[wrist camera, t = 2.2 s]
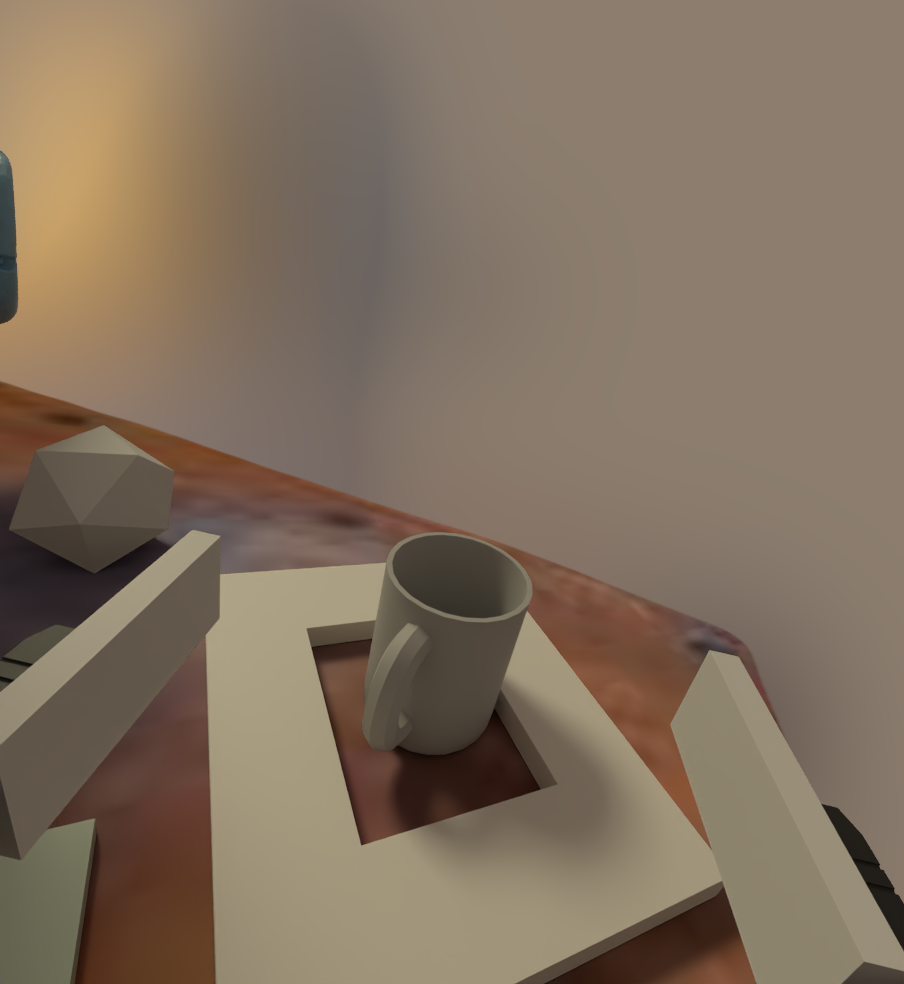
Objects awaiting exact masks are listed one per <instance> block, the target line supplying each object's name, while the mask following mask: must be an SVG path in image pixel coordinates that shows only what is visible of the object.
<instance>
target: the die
mask: <svg viewBox="0 0 904 984" xmlns="http://www.w3.org/2000/svg"><path fill="white" fill-rule="evenodd" d="M173 479H174V471H173V470H171V469H170V468H168V467H167V466H165V465H164V464H162V463H161V462H159V461H158V460H156V459H155V458H153V457H152V456H150V455H148V454H147V453H145V452H144V451H142V450H141V449H139V448H138V447H136V446H135V445H133V444H132V443H130V442H129V441H127V440H126V439H124V438H122V437H121V436H119V435H118V434H116V433H115V432H113V431H112V430H110V429H109V428H107V427H106V426H104V425H103V426H101V427H98V428H95V429H92V430H90V431H87V432H84V433H82V434H79V435H76V436H74V437H71V438H68V439H65V440H63V441H60V442H57V443H55V444H52V445H49V446H46V447H44V448H41V449H38V450H36V451H35V454H34V456H33V459H32V462H31V465H30V468H29V471H28V474H27V477H26V480H25V483H24V486H23V489H22V492H21V495H20V498H19V501H18V504H17V506H16V509H15V512H14V515H13V518H12V521H11V524H10V527H9V530H10V531H12V532H14V533H16V534H18V535H20V536H22V537H24V538H26V539H28V540H30V541H32V542H34V543H35V544H37V545H39V546H41V547H43V548H45V549H47V550H49V551H51V552H53V553H55V554H57V555H59V556H61V557H63V558H65V559H67V560H69V561H71V562H73V563H74V564H76V565H78V566H80V567H82V568H84V569H86V570H88V571H90V572H92V573H94V574H95V573H96V572H98V571H100V570H101V569H103V568H105V567H106V566H108V565H110V564H111V563H113V562H115V561H116V560H118V559H119V558H121V557H123V556H124V555H126V554H128V553H129V552H131V551H133V550H134V549H136V548H138V547H139V546H141V545H143V544H144V543H146V542H147V541H149V540H151V539H152V538H154V537H156V536H157V535H159V534H161V533H162V532H164V531H166V530H167V529H168V524H169V515H170V506H171V497H172V488H173Z"/></svg>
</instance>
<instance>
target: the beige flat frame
mask: <svg viewBox="0 0 904 984" xmlns="http://www.w3.org/2000/svg"><path fill="white" fill-rule="evenodd" d="M385 567H386V563H377V564H363V565H349V566H335V567H320V568H306V569H292V570H278V571H263V572H249V573H235V574H221V575H220V618H219V620H218V621H217V622H216V623H215V625H214V626H213V627H212V628H211V629H210V631H209V632H208V633H207V634H206V636H205V641H206V677H207V712H208V747H209V782H210V818H211V853H212V888H213V924H214V959H215V984H544V983H546V982H548V981H550V980H552V979H554V978H556V977H558V976H560V975H562V974H564V973H566V972H568V971H570V970H572V969H574V968H576V967H578V966H580V965H582V964H584V963H586V962H587V961H589V960H591V959H593V958H595V957H597V956H599V955H601V954H603V953H605V952H607V951H609V950H611V949H613V948H615V947H617V946H619V945H621V944H623V943H625V942H627V941H629V940H630V939H632V938H634V937H636V936H638V935H640V934H642V933H644V932H646V931H648V930H650V929H652V928H654V927H656V926H658V925H660V924H662V923H664V922H666V921H668V920H670V919H672V918H673V917H675V916H677V915H679V914H681V913H683V912H685V911H687V910H689V909H691V908H693V907H695V906H697V905H699V904H701V903H703V902H705V901H707V900H709V899H711V898H713V897H715V896H716V895H717V894H718V893H719V892H720V890H721V889H722V888H723V886H724V884H723V881H722V878H721V875H720V872H719V869H718V866H717V863H716V860H715V857H714V854H713V852H712V851H711V849H710V848H709V847H708V845H707V844H706V843H705V841H704V840H703V839H702V838H701V836H700V835H699V834H698V832H697V831H696V830H695V828H694V827H693V826H692V825H691V823H690V822H689V821H688V819H687V818H686V817H685V815H684V814H683V813H682V812H681V810H680V809H679V808H678V806H677V805H676V804H675V803H674V801H673V800H672V799H671V797H670V796H669V795H668V793H667V792H666V791H665V790H664V788H663V787H662V786H661V784H660V783H659V782H658V780H657V779H656V778H655V777H654V775H653V774H652V773H651V771H650V770H649V769H648V767H647V766H646V765H645V764H644V762H643V761H642V760H641V758H640V757H639V756H638V754H637V753H636V752H635V751H634V749H633V748H632V747H631V745H630V744H629V743H628V741H627V740H626V739H625V738H624V736H623V735H622V734H621V732H620V731H619V730H618V729H617V727H616V726H615V725H614V723H613V722H612V721H611V719H610V718H609V717H608V716H607V714H606V713H605V712H604V710H603V709H602V708H601V706H600V705H599V704H598V703H597V701H596V700H595V699H594V697H593V696H592V695H591V693H590V692H589V691H588V690H587V688H586V687H585V686H584V684H583V683H582V682H581V680H580V679H579V678H578V677H577V675H576V674H575V673H574V671H573V670H572V669H571V667H570V666H569V665H568V664H567V662H566V661H565V660H564V658H563V657H562V656H561V655H560V653H559V652H558V651H557V649H556V648H555V647H554V645H553V644H552V643H551V642H550V640H549V639H548V638H547V636H546V635H545V634H544V632H543V631H542V630H541V629H540V627H539V626H538V625H537V623H536V622H535V621H534V619H533V618H532V617H531V616H530V614H529V613H528V612H526V615H525V618H524V621H523V624H522V627H521V630H520V633H519V636H518V639H517V642H516V644H515V647H514V650H513V653H512V656H511V659H510V662H509V665H508V668H507V671H506V674H505V677H504V680H503V683H502V686H501V689H500V692H499V695H498V698H497V701H496V704H495V707H494V708H495V710H496V712H497V714H498V715H499V717H500V719H501V721H502V722H503V724H504V726H505V728H506V729H507V731H508V733H509V735H510V736H511V738H512V740H513V742H514V744H515V745H516V747H517V749H518V751H519V752H520V754H521V756H522V758H523V759H524V761H525V763H526V765H527V766H528V768H529V770H530V772H531V773H532V775H533V777H534V779H535V780H536V782H537V784H538V786H539V787H540V789H541V790H538V791H535V792H532V793H529V794H525V795H522V796H519V797H516V798H513V799H509V800H506V801H503V802H500V803H497V804H493V805H490V806H487V807H484V808H481V809H477V810H474V811H471V812H468V813H465V814H461V815H458V816H455V817H452V818H449V819H445V820H442V821H439V822H436V823H433V824H429V825H426V826H423V827H420V828H416V829H413V830H410V831H407V832H404V833H400V834H397V835H394V836H391V837H388V838H384V839H381V840H378V841H375V842H372V843H368V844H365V845H362V846H361V843H360V839H359V835H358V831H357V827H356V823H355V819H354V815H353V811H352V807H351V803H350V799H349V795H348V791H347V787H346V784H345V780H344V776H343V772H342V768H341V764H340V760H339V756H338V752H337V748H336V744H335V740H334V736H333V732H332V728H331V724H330V720H329V716H328V712H327V708H326V704H325V700H324V696H323V692H322V688H321V684H320V681H319V677H318V673H317V669H316V665H315V661H314V657H313V653H312V649H311V647H314V646H321V645H329V644H336V643H343V642H351V641H358V640H366V639H373V633H374V628H375V622H376V617H377V611H378V606H379V600H380V595H381V589H382V584H383V578H384V573H385Z"/></svg>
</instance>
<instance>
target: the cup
mask: <svg viewBox="0 0 904 984" xmlns="http://www.w3.org/2000/svg"><path fill="white" fill-rule="evenodd" d="M532 594H533V593H532V582H531V580H530V578H529V576H528V574H527V572H526V571H525V570H524V568H523V567H522V566H521V565H520V564H519V563H518V562H517V561H516V560H515V559H514V558H512V557H511V556H510V555H509V554H507V553H506V552H505V551H503V550H501V549H499V548H497V547H495V546H493V545H492V544H490V543H487V542H484V541H482V540H479V539H476V538H473V537H469V536H465V535H460V534H454V533H443V532H436V533H423V534H419V535H415V536H411V537H408V538H407V539H405V540H403V541H401V542H399V543H398V544H397V545H396V546H395V547H394V548H393V549H392V550H391V551H390V553H389V556H388V559H387V562H386V567H385V573H384V578H383V584H382V589H381V595H380V600H379V606H378V611H377V617H376V622H375V628H374V633H373V639H372V644H371V650H370V655H369V661H368V666H367V672H366V677H365V685H364V701H365V709H364V714H363V721H362V732H363V734H364V736H365V738H366V740H367V742H368V743H369V745H370V746H371V748H372V750H378V751H390V750H393V749H394V748H395V747H396V746H397V745H398V746H400V747H402V748H404V749H406V750H408V751H410V752H415V753H419V754H424V755H445V754H448V753H452V752H456V751H459V750H462V749H464V748H466V747H467V746H469V745H471V744H472V743H474V742H475V741H476V740H477V739H478V738H479V737H480V736H481V735H482V733H483V732H484V731H485V729H486V727H487V725H488V723H489V720H490V718H491V715H492V712H493V709H494V707H495V704H496V701H497V698H498V695H499V692H500V689H501V686H502V683H503V680H504V677H505V674H506V671H507V668H508V665H509V662H510V659H511V656H512V653H513V650H514V647H515V644H516V642H517V639H518V636H519V633H520V630H521V627H522V624H523V621H524V618H525V615H526V612H527V609H528V606H529V603H530V600H531V597H532Z"/></svg>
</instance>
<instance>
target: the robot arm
mask: <svg viewBox="0 0 904 984" xmlns="http://www.w3.org/2000/svg"><path fill="white" fill-rule="evenodd" d="M16 257H17V254H16V224H15V207H14V191H13V178H12V168H11V165H10V162H9V159H8V158H7V157H6V155H5V154H4V153H3V152H1V151H0V324H2V323H5V322H8V321H9V320H11V319H12V318H13V317H14V316H15V314H16V312H17V308H18V278H17V263H16ZM220 545H221V536H217V535H213V534H208V533H204V532H200V531H195V530H192V531H191V532H189V533H188V534H187V535H186V536H185V537H183V538H182V539H181V540H180V541H179V542H178V543H176V544H175V545H174V546H173V547H172V548H170V549H169V550H168V551H167V552H166V553H165V554H163V555H162V556H161V557H160V558H159V559H157V560H156V561H155V562H154V563H153V564H151V565H150V566H149V567H148V568H147V569H146V570H144V571H143V572H142V573H141V574H140V575H138V576H137V577H136V578H135V579H134V580H133V581H131V582H130V583H129V584H128V585H127V586H125V587H124V588H123V589H122V590H121V591H120V592H118V593H117V594H116V595H115V596H114V597H112V598H111V599H110V600H109V601H108V602H106V603H105V604H104V605H103V606H102V607H101V608H99V609H98V610H97V611H96V612H95V613H93V614H92V615H91V616H90V617H89V618H88V619H86V620H85V621H84V622H83V623H82V624H80V625H79V626H78V627H77V628H76V629H74V628H70V627H66V626H61V625H57V624H56V625H54V626H52V627H50V628H48V629H46V630H43V631H41V632H39V633H37V634H35V635H33V636H30V637H28V638H26V639H25V640H24V641H22V642H21V643H20V644H19V645H17V646H16V647H15V648H14V649H12V650H11V651H10V652H8V653H7V654H6V655H5V656H3V659H2V660H1V661H0V856H4V857H8V858H12V859H16V860H20V861H21V860H22V859H23V858H24V857H25V855H26V854H27V853H28V852H29V851H30V849H31V848H32V847H33V846H34V844H35V843H36V842H37V841H38V840H39V838H40V837H41V836H42V835H43V833H44V832H45V831H46V830H47V829H48V827H49V826H50V825H51V824H52V822H53V821H54V820H55V819H56V818H57V816H58V815H59V814H60V813H61V811H62V810H63V809H64V808H65V807H66V805H67V804H68V803H69V802H70V800H71V799H72V798H73V797H74V796H75V794H76V793H77V792H78V791H79V789H80V788H81V787H82V786H83V785H84V783H85V782H86V781H87V780H88V778H89V777H90V776H91V775H92V774H93V772H94V771H95V770H96V769H97V767H98V766H99V765H100V764H101V763H102V761H103V760H104V759H105V758H106V756H107V755H108V754H109V753H110V752H111V750H112V749H113V748H114V747H115V746H116V744H117V743H118V742H119V741H120V739H121V738H122V737H123V736H124V735H125V733H126V732H127V731H128V730H129V728H130V727H131V726H132V725H133V724H134V722H135V721H136V720H137V719H138V717H139V716H140V715H141V714H142V713H143V711H144V710H145V709H146V708H147V706H148V705H149V704H150V703H151V702H152V700H153V699H154V698H155V697H156V695H157V694H158V693H159V692H160V691H161V689H162V688H163V687H164V686H165V684H166V683H167V682H168V681H169V680H170V678H171V677H172V676H173V675H174V673H175V672H176V671H177V670H178V669H179V667H180V666H181V665H182V664H183V662H184V661H185V660H186V659H187V658H188V656H189V655H190V654H191V653H192V651H193V650H194V649H195V648H196V647H197V645H198V644H199V643H200V642H201V640H202V639H203V638H204V637H205V636H206V634H207V633H208V632H209V631H210V629H211V628H212V627H213V626H214V625H215V623H216V622H217V621H218V620H219V618H220ZM670 725H671V728H672V731H673V734H674V737H675V740H676V743H677V746H678V749H679V752H680V755H681V758H682V761H683V764H684V767H685V770H686V773H687V776H688V779H689V782H690V785H691V788H692V791H693V794H694V797H695V800H696V803H697V806H698V809H699V812H700V815H701V818H702V821H703V824H704V827H705V830H706V833H707V836H708V839H709V842H710V845H711V848H712V851H713V854H714V857H715V860H716V863H717V866H718V869H719V872H720V875H721V878H722V881H723V884H724V887H725V890H726V893H727V896H728V899H729V902H730V905H731V908H732V911H733V914H734V917H735V920H736V924H737V927H738V930H739V933H740V936H741V939H742V942H743V945H744V948H745V951H746V954H747V957H748V960H749V963H750V966H751V969H752V972H753V975H754V978H755V981H756V984H904V904H903V902H902V900H901V899H900V897H899V895H896V894H895V893H894V887H893V885H892V884H891V882H890V880H889V879H888V877H887V875H886V874H885V872H884V870H881V869H880V867H879V865H880V864H879V862H878V860H877V859H876V857H875V856H874V854H873V852H872V850H871V849H870V847H869V845H868V844H867V842H866V840H865V839H864V837H863V835H862V834H861V833H860V832H859V831H858V830H857V829H856V828H855V827H854V826H853V824H852V823H851V822H850V821H849V820H848V819H847V818H846V817H845V816H844V815H843V813H842V812H841V811H840V810H839V809H838V808H835V807H832V806H827V805H823V804H821V803H820V801H819V799H818V798H817V796H816V794H815V792H814V790H813V789H812V787H811V785H810V783H809V781H808V780H807V778H806V776H805V774H804V773H803V771H802V769H801V767H800V765H799V764H798V762H797V760H796V758H795V757H794V755H793V753H792V751H791V749H790V748H789V746H788V744H787V742H786V740H785V739H784V737H783V735H782V733H781V732H780V730H779V728H778V726H777V724H776V723H775V721H774V719H773V717H772V716H771V714H770V712H769V710H768V708H767V707H766V705H765V703H764V701H763V699H762V698H761V696H760V694H759V692H758V691H757V689H756V687H755V685H754V683H753V682H752V680H751V678H750V676H749V674H748V673H747V671H746V669H745V667H744V666H743V664H742V662H741V660H740V658H739V657H737V656H733V655H728V654H724V653H720V652H715V651H711V650H709V652H708V654H707V656H706V658H705V660H704V662H703V664H702V666H701V667H700V669H699V671H698V673H697V675H696V677H695V679H694V681H693V683H692V684H691V686H690V688H689V690H688V692H687V694H686V696H685V698H684V700H683V701H682V703H681V705H680V707H679V709H678V711H677V713H676V715H675V717H674V718H673V720H672V722H671V724H670Z"/></svg>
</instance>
